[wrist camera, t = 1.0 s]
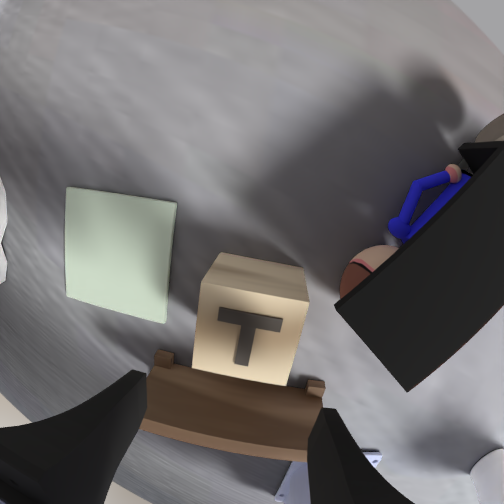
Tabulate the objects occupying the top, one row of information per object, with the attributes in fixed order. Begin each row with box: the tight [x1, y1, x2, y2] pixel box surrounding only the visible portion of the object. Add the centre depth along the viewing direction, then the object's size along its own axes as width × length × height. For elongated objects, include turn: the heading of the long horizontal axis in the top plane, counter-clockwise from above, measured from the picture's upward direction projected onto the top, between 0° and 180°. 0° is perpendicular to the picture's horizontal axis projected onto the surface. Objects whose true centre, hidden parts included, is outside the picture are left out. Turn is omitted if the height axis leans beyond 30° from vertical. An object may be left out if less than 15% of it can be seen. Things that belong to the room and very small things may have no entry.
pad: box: [65, 187, 177, 324], centre depth 20 cm, size 8×8×1 cm
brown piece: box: [139, 349, 326, 462], centre depth 19 cm, size 3×12×6 cm, turn 80°
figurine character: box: [334, 114, 504, 392], centre depth 15 cm, size 7×8×15 cm
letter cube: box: [192, 252, 309, 386], centre depth 18 cm, size 5×5×5 cm
